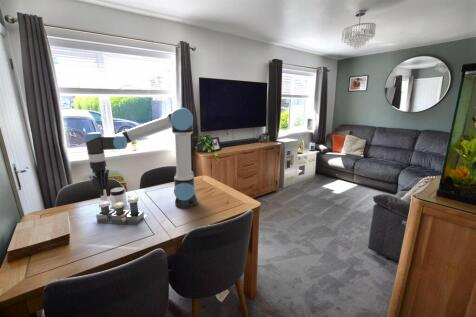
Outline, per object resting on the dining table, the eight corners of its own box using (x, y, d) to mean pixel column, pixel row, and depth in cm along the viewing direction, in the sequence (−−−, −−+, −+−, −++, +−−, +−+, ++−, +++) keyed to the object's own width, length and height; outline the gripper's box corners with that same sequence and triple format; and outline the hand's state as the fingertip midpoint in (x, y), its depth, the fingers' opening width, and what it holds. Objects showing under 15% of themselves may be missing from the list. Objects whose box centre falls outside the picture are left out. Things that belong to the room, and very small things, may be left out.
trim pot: (128, 221, 128) (127, 213, 126) (125, 224, 124) (124, 215, 123) (123, 220, 128) (122, 212, 127) (120, 223, 125) (119, 215, 123)
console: (147, 216, 135) (146, 209, 134) (136, 227, 123) (135, 219, 122) (107, 214, 137) (106, 207, 136) (93, 224, 126) (91, 216, 124)
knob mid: (128, 216, 132) (126, 202, 130) (122, 221, 127) (120, 206, 125) (119, 216, 133) (117, 201, 131) (113, 220, 127) (111, 206, 125)
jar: (112, 210, 142) (109, 193, 139) (111, 205, 149) (108, 189, 146) (127, 207, 147) (125, 190, 144) (126, 202, 153) (123, 186, 150)
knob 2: (141, 211, 131) (140, 197, 128) (136, 216, 125) (134, 201, 123) (132, 211, 131) (131, 196, 129) (127, 215, 126) (125, 200, 123)
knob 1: (113, 215, 133) (111, 201, 131) (107, 220, 128) (105, 205, 125) (105, 215, 134) (102, 201, 131) (98, 219, 128) (96, 205, 126)
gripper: (99, 157, 129) (105, 195, 135) (82, 163, 116) (90, 204, 122) (111, 157, 128) (117, 195, 134) (95, 164, 115) (102, 205, 121)
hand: (104, 199), depth 128 cm, fingers closed
